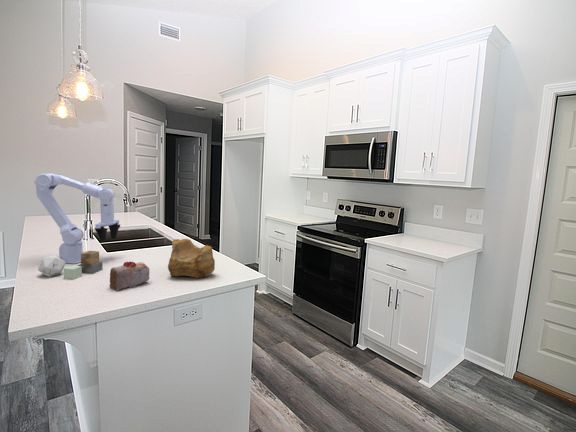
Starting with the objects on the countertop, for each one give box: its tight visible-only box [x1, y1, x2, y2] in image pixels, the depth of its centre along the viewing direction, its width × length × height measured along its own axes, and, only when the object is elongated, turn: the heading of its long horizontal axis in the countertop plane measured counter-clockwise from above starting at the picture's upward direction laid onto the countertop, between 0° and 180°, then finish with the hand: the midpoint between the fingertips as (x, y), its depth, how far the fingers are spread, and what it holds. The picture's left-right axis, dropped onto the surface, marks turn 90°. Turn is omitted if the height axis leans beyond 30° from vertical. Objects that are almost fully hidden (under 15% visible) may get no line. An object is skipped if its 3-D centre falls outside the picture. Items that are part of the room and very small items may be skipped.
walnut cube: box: [80, 250, 100, 265], centre depth 145 cm, size 5×5×5 cm
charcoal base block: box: [78, 260, 103, 275], centre depth 145 cm, size 6×6×4 cm
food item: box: [109, 261, 151, 291], centre depth 130 cm, size 14×8×10 cm, turn 145°
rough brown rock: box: [167, 238, 216, 279], centre depth 145 cm, size 23×17×15 cm
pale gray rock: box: [37, 254, 67, 278], centre depth 138 cm, size 8×9×10 cm
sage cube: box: [62, 265, 83, 281], centre depth 137 cm, size 4×4×4 cm
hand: (108, 240), depth 161 cm, fingers open, 7 cm apart
